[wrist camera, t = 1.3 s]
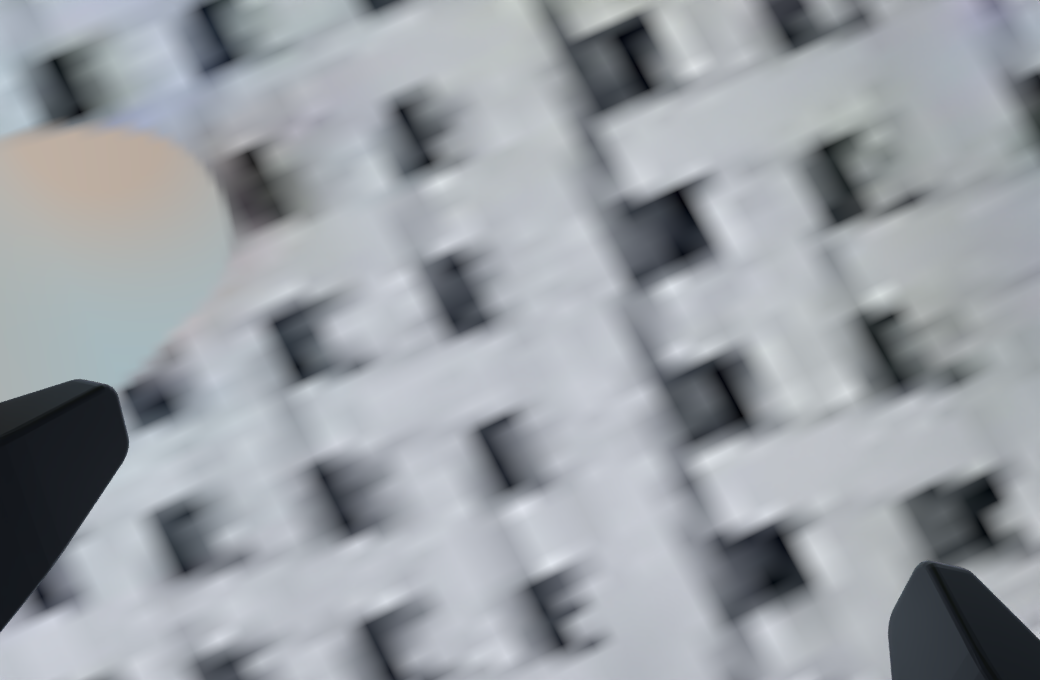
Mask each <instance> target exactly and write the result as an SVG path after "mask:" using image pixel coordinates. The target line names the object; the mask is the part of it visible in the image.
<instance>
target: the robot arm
mask: <svg viewBox="0 0 1040 680" xmlns="http://www.w3.org/2000/svg"><path fill="white" fill-rule="evenodd" d="M128 448H129V438H128V433H127V429H126V425H125V421H124V417H123V413H122V409H121V405H120V401H119V397H118V394H117V392H116V391H115V390H114V389H113V387H111V386H109V385H107V384H102V383H98V382H93V381H88V380H82V379H76V380H71V381H68V382H65V383H61V384H58V385H55V386H52V387H49V388H46V389H43V390H40V391H36V392H33V393H30V394H26V395H23V396H20V397H17V398H14V399H11V400H7V401H4V402H1V403H0V632H1V631H2V630H3V629H4V627H5V626H6V625H7V624H8V622H9V621H10V620H11V619H12V617H13V616H14V615H15V614H16V613H17V611H18V610H19V609H20V608H21V606H22V605H23V604H24V603H25V601H26V600H27V599H28V598H29V596H30V595H31V594H32V593H33V592H34V590H35V589H36V588H37V587H38V585H39V584H40V583H41V581H42V580H43V579H44V578H45V576H46V575H47V574H48V572H49V571H50V570H51V568H52V567H53V566H54V564H55V563H56V561H57V560H58V558H59V557H60V556H61V554H62V553H63V551H64V550H65V548H66V547H67V545H68V544H69V542H70V541H71V539H72V538H73V536H74V535H75V533H76V532H77V530H78V529H79V527H80V526H81V524H82V523H83V521H84V520H85V518H86V517H87V515H88V514H89V512H90V511H91V509H92V508H93V506H94V505H95V503H96V502H97V500H98V499H99V497H100V496H101V494H102V493H103V491H104V490H105V488H106V487H107V485H108V484H109V482H110V481H111V479H112V478H113V476H114V475H115V473H116V472H117V470H118V469H119V467H120V466H121V464H122V463H123V461H124V459H125V457H126V455H127V452H128ZM888 639H889V651H890V663H891V675H892V680H1040V640H1039V639H1038V638H1037V637H1036V636H1035V635H1034V634H1033V633H1032V632H1031V631H1030V630H1029V629H1028V628H1027V627H1026V626H1025V625H1024V624H1023V623H1022V622H1021V621H1020V620H1019V619H1018V618H1017V617H1016V616H1015V615H1014V614H1013V613H1012V612H1011V611H1010V610H1009V609H1008V608H1007V607H1006V606H1005V605H1004V604H1003V603H1002V602H1001V601H1000V600H999V599H998V598H997V597H996V596H995V595H994V594H993V593H992V592H991V591H990V590H989V589H988V588H987V587H986V586H985V585H984V584H983V583H982V582H981V581H980V580H979V579H978V578H977V577H976V576H975V575H974V574H973V573H971V572H970V571H969V570H967V569H965V568H962V567H958V566H953V565H949V564H944V563H939V562H935V561H923V562H921V563H920V564H919V565H917V567H916V568H915V570H914V571H913V573H912V575H911V577H910V579H909V581H908V583H907V584H906V586H905V588H904V590H903V592H902V594H901V596H900V598H899V600H898V601H897V603H896V605H895V607H894V609H893V611H892V614H891V617H890V621H889V628H888Z"/></svg>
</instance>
